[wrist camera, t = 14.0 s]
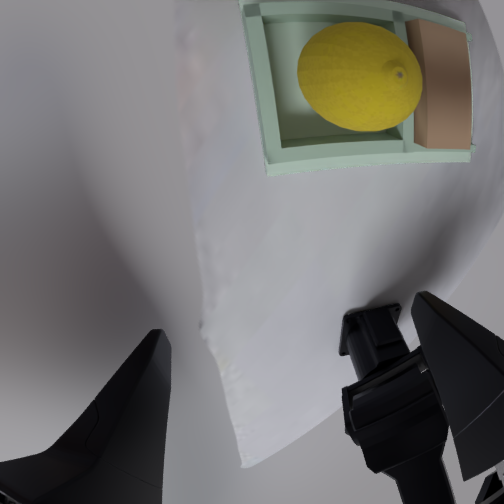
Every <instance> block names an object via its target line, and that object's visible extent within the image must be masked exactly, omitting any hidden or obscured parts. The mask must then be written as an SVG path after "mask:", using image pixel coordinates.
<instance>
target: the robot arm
mask: <svg viewBox="0 0 504 504" xmlns="http://www.w3.org/2000/svg"><path fill="white" fill-rule="evenodd" d="M400 312H401V306H400V304H399V303H397V304H393V305H389V306H385V307H381V308H376V309H372V310H368V311H363V312H359V313H354V314H350V315H346V316H344V318H343V320H342V329H341V337H340V345H339V355H340V356H345V355H350V357H351V360H352V363H353V366H354V369H355V372H356V375H357V378H358V382H356V383H354V384H352V385H350V386H348V387H347V386H346V387H344V388H342V403H343V411H344V420H345V433H346V434H347V435H349V436H350V437H351V438H352V440H353V441H354V443H355V444H356V445H358V446H361V449H362V451H363V454H364V458H365V461H366V465H367V467H368V468H369V469H370V470H372V471H373V472H374V473H376V474H377V473H379V472H382V473H384V474H386V475H387V476H389V477H391V478H392V479H394V480H395V481H396V484H397V486H398V490H399V493H400V496H401V499H402V502H403V504H456V500H455V497H454V493H453V490H452V486H451V483H450V480H449V477H448V473H447V470H446V467H445V464H444V461H443V458H442V454H443V451H444V446H445V442H446V440H447V435H448V428H449V425H450V429H451V432H452V436H453V438H454V439H453V440H454V444H455V447H456V451H457V455H458V459H459V464H460V468H461V472H462V477H463V481H466V480H469V479H471V478H473V477H475V476H476V475H479V474H481V473H482V472H484V471H486V470H488V469H490V468H492V467H493V466H495V467H496V470H495V471H494V472H492V473H491V474H490V475H488V476H487V477H486V478H485V480H484V483H483V485H482V488H481V490H480V492H479V494H478V497H477V499H476V501H475V504H504V340H502V339H501V338H500V337H498V336H495V334H494V333H492V332H491V331H489V330H488V329H486V328H485V327H483V326H482V325H480V324H478V323H477V322H475V321H474V320H473V319H471V318H469V317H468V316H466V315H465V314H463V313H462V312H460V311H459V310H457V309H455V308H454V307H452V306H451V305H449V304H447V303H446V302H444V301H443V300H441V299H439V298H438V297H436V296H434V295H433V294H431V293H430V292H428V291H421V292H418V293H416V295H415V298H414V301H413V304H412V307H411V315H412V318H413V321H414V325H415V328H416V331H417V334H418V337H419V340H420V344H421V345H420V346H418V347H417V349H415V350H414V351H412V352H410V350H409V348H408V346H407V344H406V342H405V340H404V338H403V335H402V333H401V332H400V330H399V328H398V326H397V322H398V319H399V315H400ZM425 369H426V371H424V370H425ZM422 371H424V372H422ZM421 372H422V373H421ZM170 392H171V344H170V342H169V340H168V338H167V336H166V334H165V332H164V330H163V329H152V330H151V331H150V332H149V333H148V334H147V335H146V336H145V338H144V339H143V340H142V341H141V343H140V344H139V345H138V346H137V347H136V348H135V349H134V351H133V352H132V353H131V354H130V356H129V357H128V358H127V359H126V360H125V362H124V363H123V364H122V365H121V366H120V368H119V369H118V370H117V371H116V373H115V374H114V375H113V376H112V378H111V379H110V380H109V381H108V382H107V384H106V385H105V386H104V387H103V389H102V390H101V391H100V392H99V393H98V395H97V396H96V397H95V400H93V401H92V402H91V403H90V405H89V406H88V407H87V409H86V410H85V411H84V412H83V413H82V414H81V415H80V417H79V418H78V419H77V420H76V421H75V422H74V423H73V424H72V425H71V426H70V427H69V428H68V429H67V430H66V432H65V433H64V434H63V435H62V436H61V437H60V438H59V439H58V440H57V441H56V442H55V443H54V444H53V445H52V446H51V447H50V448H48V449H47V450H45V451H43V452H41V453H38V454H35V455H31V456H27V457H23V458H18V459H14V460H9V461H4V462H0V504H162V485H163V469H164V454H165V441H166V430H167V419H168V410H169V401H170ZM443 406H444V407H443ZM444 409H445V410H444Z"/></svg>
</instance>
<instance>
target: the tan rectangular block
mask: <svg viewBox="0 0 504 504" xmlns="http://www.w3.org/2000/svg"><path fill="white" fill-rule="evenodd" d="M405 27H406V33H407V40H408V47H409V48H410V49H411V51H412V52H413V54H414V55H415V57H416V59H417V61H418V63H419V66H420V69H421V74H422V93H421V97H420V101H419V103H418V105H417V107H416V108H415V110H414V143H416V144H418V145H420V146H422V147H425V148H427V149H466V150H470V146H471V128H472V91H471V73H470V62H469V53H468V45H467V38H466V33H463V32H460V31H458V30H455V29H452V28H449V27H446V26H443V25H439V24H436V23H433V22H429V21H425V20H422V19H414V20H410V21H405Z"/></svg>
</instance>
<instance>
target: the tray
mask: <svg viewBox="0 0 504 504" xmlns="http://www.w3.org/2000/svg"><path fill="white" fill-rule="evenodd" d="M238 3H239V8H240V14H241V19H242V25H243V30H244V36H245V42H246V47H247V53H248V59H249V65H250V71H251V77H252V83H253V89H254V96H255V102H256V108H257V115H258V121H259V128H260V135H261V141H262V148H263V155H264V162H265V169H266V174H267V177H271V176H279V175H286V174H293V173H301V172H310V171H318V170H328V169H338V168H348V167H360V166H373V165H388V164H406V163H436V162H470V158H471V152H474V153H475V149H476V145H474V144H472V128H471V146H470V150H466V149H427V148H425V147H422V146H420V145H418V144H416V143H414V112H413V113H412V114H411V115H410V116H409V117H408V118H407V119H406V120H404V121H403V122H401V123H399V124H398V125H396V126H394V127H391V128H388V129H384V130H380V131H354V130H350V129H346V128H342V127H339V126H337V125H335V124H333V123H331V122H329V121H327V120H325V119H324V118H323V117H322V116H321V115H319V114H318V113H317V112H316V111H315V110H313V108H312V107H311V106H310V104H309V103H308V102H307V100H306V99H305V98H304V96H303V94H302V91H301V89H300V87H299V83H298V77H297V65H298V59H299V56H300V54H301V51H302V49H303V47H304V46H305V45H306V43H307V42H308V41H309V40H310V38H311V37H312V36H313V35H315V34H316V33H318V32H319V31H321V30H322V29H324V28H326V27H328V26H332V25H335V24H338V23H342V22H365V23H369V24H373V25H376V26H380V27H383V28H385V29H386V30H388V31H390V32H392V33H394V34H395V35H397V36H398V37H399V38H400V39H401V40H402V41H404V42H405V43H406V44H407V45H408V40H407V33H406V27H405V21H410V20H414V19H422V20H425V21H429V22H433V23H436V24H439V25H443V26H446V27H449V28H452V29H455V30H458V31H460V32H463V33H466V38H467V45H468V41H472V36H471V34H469V33H467V32H466V26H465V23H463V22H461V21H458V20H456V19H453V18H450V17H447V16H444V15H441V14H438V13H435V12H432V11H429V10H425V9H422V8H418V7H414V6H410V5H406V4H402V3H398V2H393V1H388V0H238ZM468 53H469V45H468ZM469 62H470V53H469ZM470 73H471V62H470ZM471 91H472V73H471ZM472 127H473V91H472Z"/></svg>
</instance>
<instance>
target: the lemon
mask: <svg viewBox="0 0 504 504" xmlns="http://www.w3.org/2000/svg"><path fill="white" fill-rule="evenodd" d="M297 77H298V83H299V87H300V89H301V91H302V94H303V96H304V98H305V99H306V100H307V102H308V103H309V104H310V106H311V107H312V108H313V110H315V111H316V112H317V113H318V114H319V115H321V116H322V117H323V118H324V119H325V120H327V121H329V122H331V123H333V124H335V125H337V126H339V127H342V128H346V129H350V130H354V131H380V130H384V129H388V128H391V127H394V126H396V125H398V124H399V123H401V122H403V121H404V120H406V119H407V118H408V117H409V116H410V115H411V114H412V113H413V112H414V110H415V108H416V107H417V105H418V103H419V101H420V97H421V93H422V74H421V69H420V66H419V63H418V61H417V59H416V57H415V55H414V54H413V52H412V51H411V49H410V48H409V47H408V45H407V44H406V43H405V42H404V41H402V40H401V39H400V38H399V37H398V36H397V35H395V34H394V33H392V32H390V31H388V30H386V29H385V28H383V27H380V26H376V25H373V24H369V23H365V22H342V23H338V24H335V25H332V26H328V27H326V28H324V29H322V30H321V31H319V32H318V33H316V34H315V35H313V36H312V37H311V38H310V40H309V41H308V42H307V43H306V45H305V46H304V47H303V49H302V51H301V54H300V56H299V59H298V65H297Z"/></svg>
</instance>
